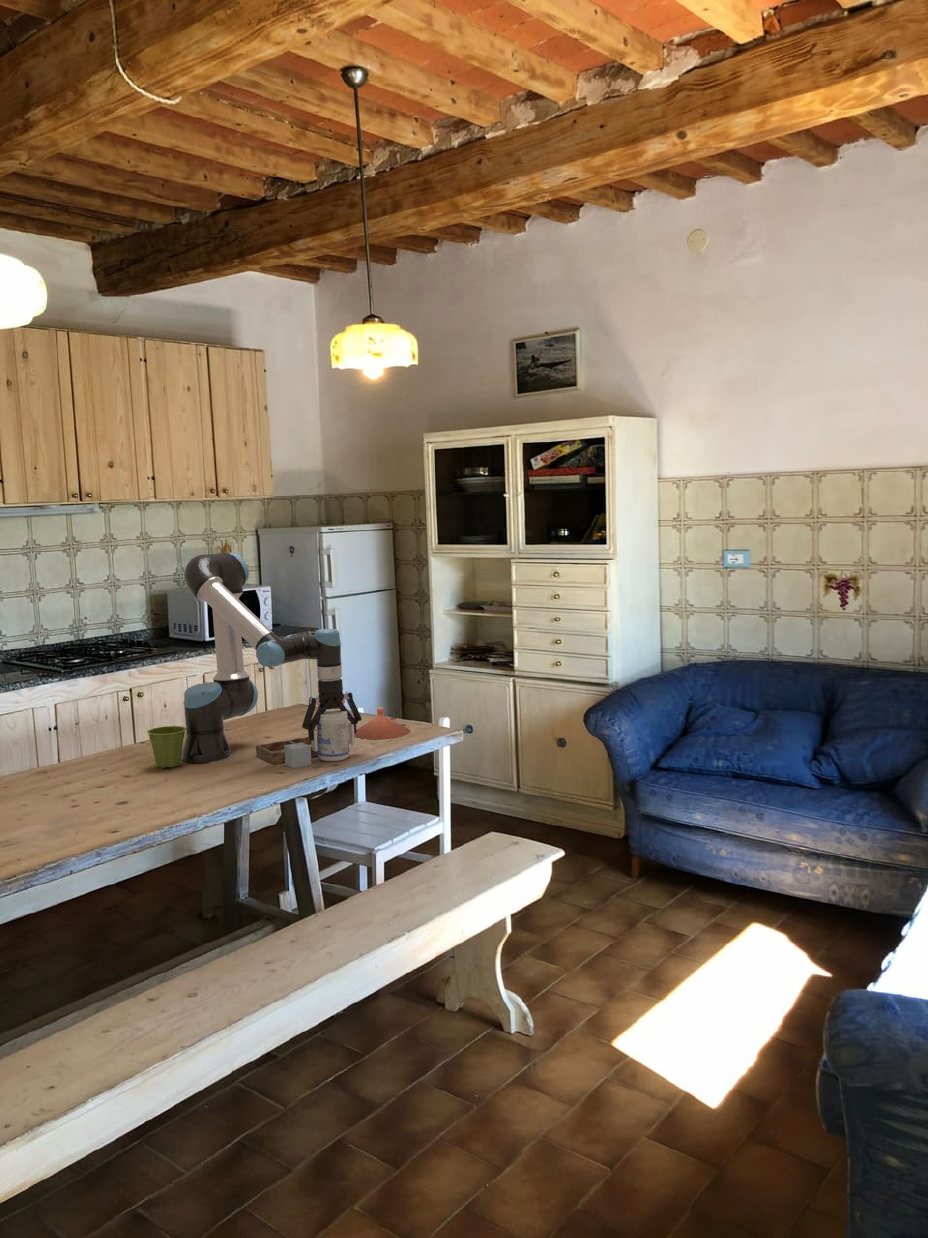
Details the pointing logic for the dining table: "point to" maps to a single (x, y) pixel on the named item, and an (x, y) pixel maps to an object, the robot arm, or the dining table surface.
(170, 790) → the dining table surface
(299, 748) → the slate block
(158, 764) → the plant pot
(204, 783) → the dining table surface
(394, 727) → the ceramic vessels
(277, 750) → the caddy
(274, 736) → the dining table surface
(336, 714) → the supplement tub
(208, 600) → the robot arm
